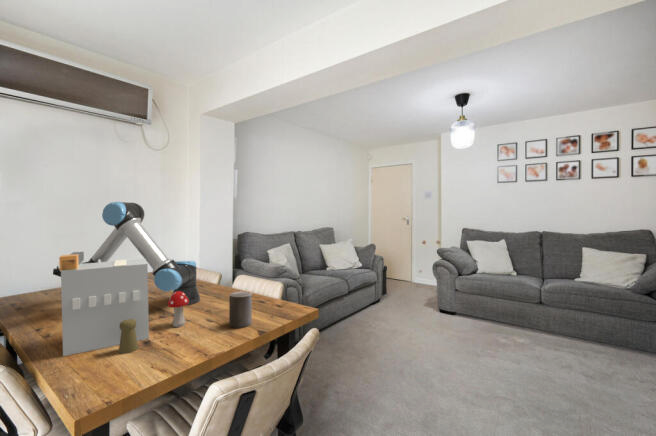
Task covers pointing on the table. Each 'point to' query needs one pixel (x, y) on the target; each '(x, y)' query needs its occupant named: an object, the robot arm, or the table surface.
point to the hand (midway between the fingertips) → (79, 263)
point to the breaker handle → (71, 261)
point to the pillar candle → (240, 309)
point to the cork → (128, 336)
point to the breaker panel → (103, 303)
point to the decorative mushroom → (178, 307)
